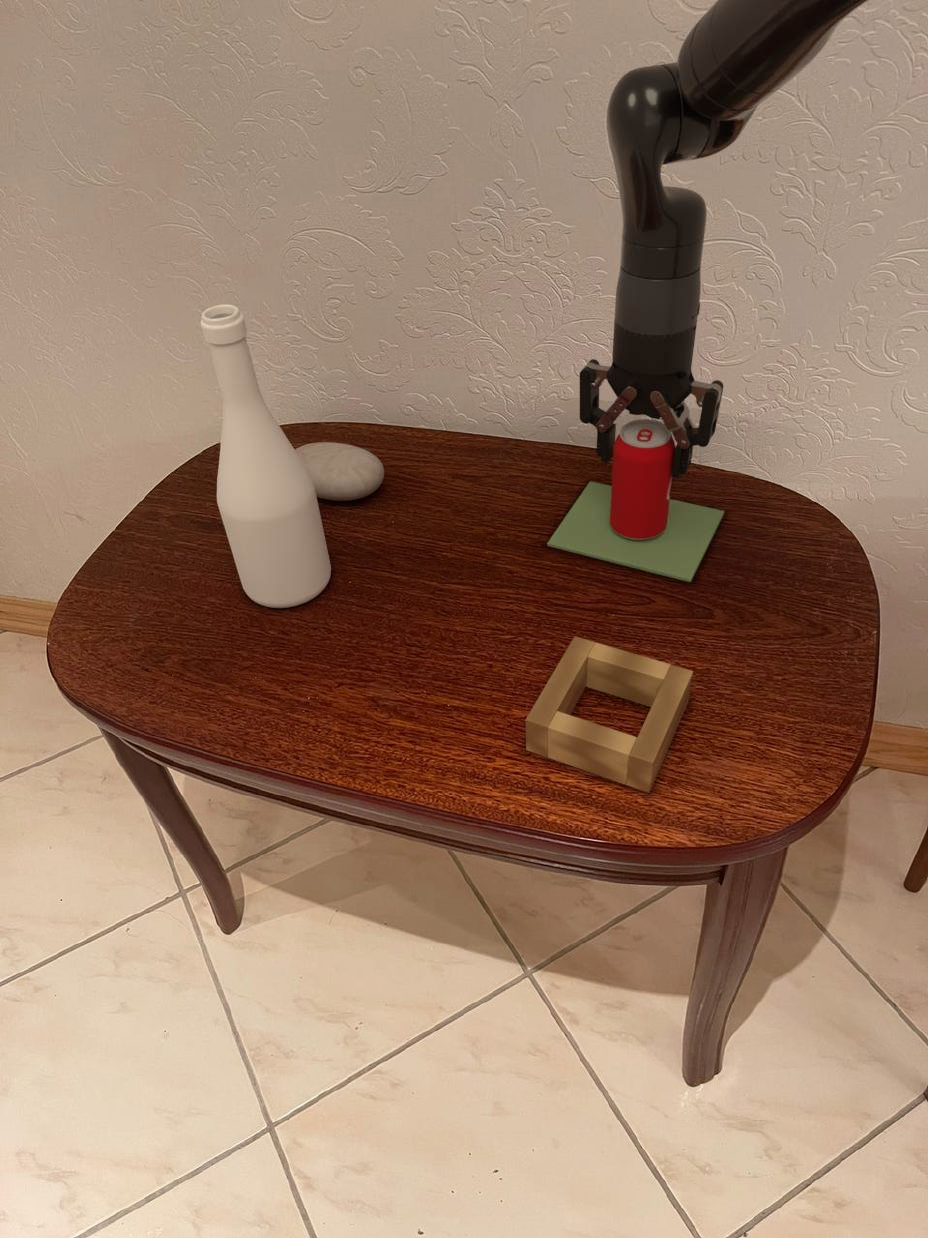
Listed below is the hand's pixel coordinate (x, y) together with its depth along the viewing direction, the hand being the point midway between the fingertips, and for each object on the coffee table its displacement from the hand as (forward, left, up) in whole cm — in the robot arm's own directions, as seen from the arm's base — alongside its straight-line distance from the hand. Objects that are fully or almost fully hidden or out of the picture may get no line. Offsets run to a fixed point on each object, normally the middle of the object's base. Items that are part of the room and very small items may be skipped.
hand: (642, 466), depth 93 cm
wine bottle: (+31, +23, -8) cm, 40 cm away
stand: (-7, +28, -8) cm, 30 cm away
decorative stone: (+36, +6, -8) cm, 37 cm away
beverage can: (0, 0, -8) cm, 8 cm away
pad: (0, 0, -8) cm, 8 cm away
